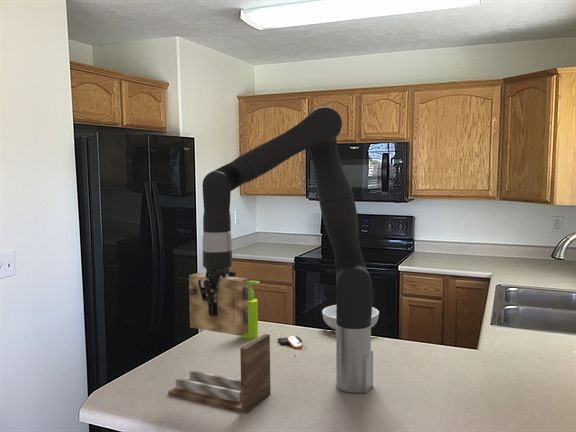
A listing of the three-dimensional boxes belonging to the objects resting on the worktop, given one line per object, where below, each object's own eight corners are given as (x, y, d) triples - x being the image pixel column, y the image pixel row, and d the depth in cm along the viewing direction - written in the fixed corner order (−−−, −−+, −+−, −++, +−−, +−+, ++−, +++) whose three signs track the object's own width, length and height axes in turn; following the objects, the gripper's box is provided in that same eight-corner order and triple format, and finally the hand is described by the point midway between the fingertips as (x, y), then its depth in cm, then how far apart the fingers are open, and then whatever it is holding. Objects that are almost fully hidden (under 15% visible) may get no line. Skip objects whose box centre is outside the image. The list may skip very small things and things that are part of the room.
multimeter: (324, 357, 162) (324, 346, 162) (287, 360, 160) (287, 349, 160) (311, 339, 180) (311, 330, 180) (277, 342, 178) (277, 332, 177)
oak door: (251, 332, 132) (251, 278, 130) (240, 338, 127) (240, 282, 126) (198, 323, 139) (197, 273, 138) (186, 329, 135) (185, 276, 134)
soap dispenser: (258, 339, 179) (257, 283, 177) (239, 338, 180) (238, 282, 178) (262, 334, 184) (261, 279, 183) (244, 333, 186) (243, 278, 184)
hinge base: (270, 394, 135) (269, 334, 133) (246, 413, 124) (245, 349, 123) (196, 378, 145) (194, 323, 144) (168, 395, 135) (166, 335, 133)
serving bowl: (313, 324, 196) (313, 306, 195) (361, 318, 203) (361, 301, 203) (337, 341, 176) (337, 321, 176) (390, 334, 184) (390, 315, 183)
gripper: (212, 253, 124) (214, 323, 126) (244, 246, 137) (245, 309, 138) (188, 251, 128) (189, 319, 129) (221, 244, 140) (222, 306, 142)
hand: (218, 313), depth 134 cm, fingers closed on oak door, 4 cm apart
